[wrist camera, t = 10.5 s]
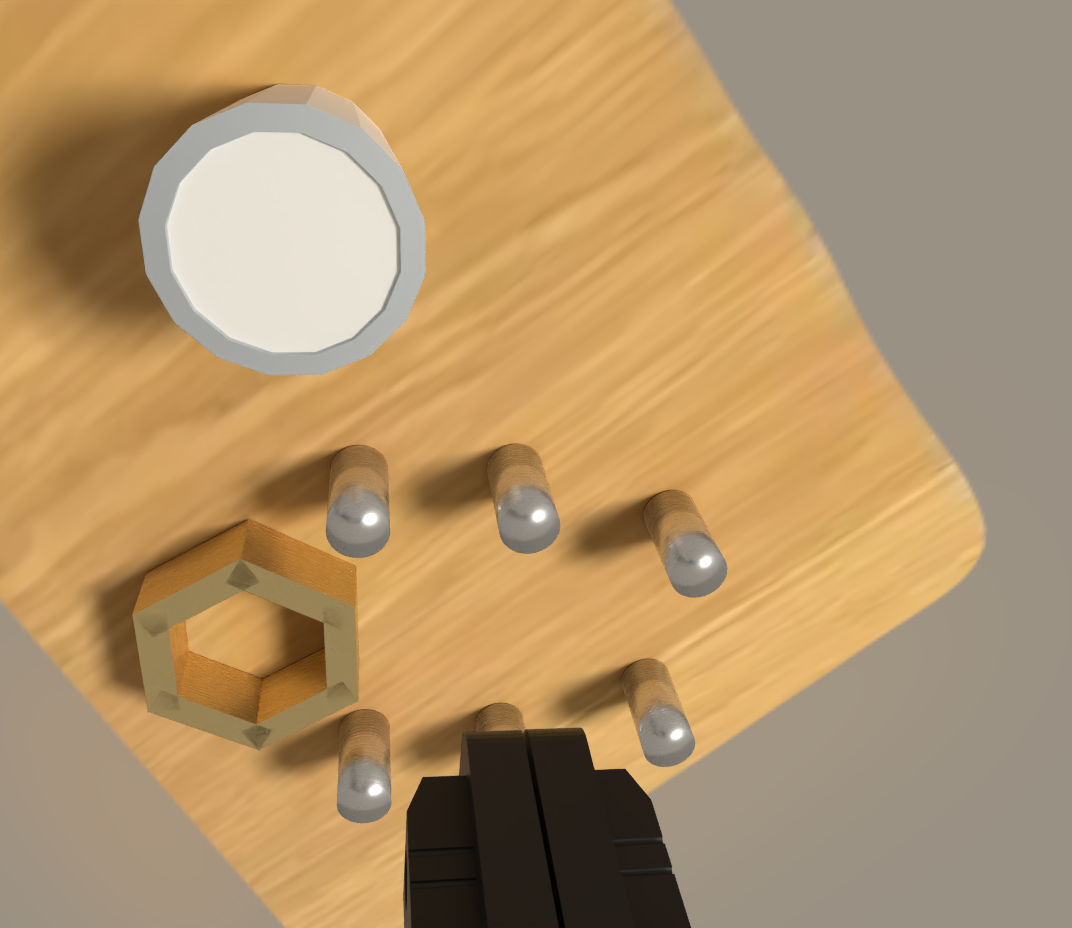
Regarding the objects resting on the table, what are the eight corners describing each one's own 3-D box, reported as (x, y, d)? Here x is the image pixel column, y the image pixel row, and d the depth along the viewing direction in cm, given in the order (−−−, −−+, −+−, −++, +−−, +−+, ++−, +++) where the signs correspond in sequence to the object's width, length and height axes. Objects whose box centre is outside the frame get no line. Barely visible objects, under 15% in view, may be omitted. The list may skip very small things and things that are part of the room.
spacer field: (340, 748, 42) (337, 824, 38) (329, 445, 35) (324, 504, 32) (659, 731, 44) (684, 802, 40) (705, 442, 37) (740, 497, 34)
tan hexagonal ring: (166, 709, 40) (154, 756, 37) (138, 522, 35) (123, 562, 33) (360, 699, 41) (359, 744, 38) (354, 516, 37) (353, 555, 34)
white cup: (224, 308, 32) (189, 402, 26) (151, 83, 29) (93, 131, 23) (436, 268, 33) (451, 351, 27) (390, 40, 29) (395, 76, 23)
